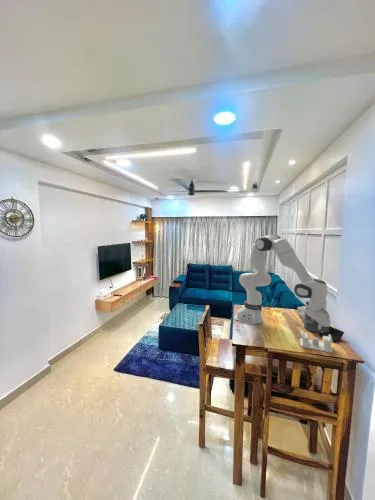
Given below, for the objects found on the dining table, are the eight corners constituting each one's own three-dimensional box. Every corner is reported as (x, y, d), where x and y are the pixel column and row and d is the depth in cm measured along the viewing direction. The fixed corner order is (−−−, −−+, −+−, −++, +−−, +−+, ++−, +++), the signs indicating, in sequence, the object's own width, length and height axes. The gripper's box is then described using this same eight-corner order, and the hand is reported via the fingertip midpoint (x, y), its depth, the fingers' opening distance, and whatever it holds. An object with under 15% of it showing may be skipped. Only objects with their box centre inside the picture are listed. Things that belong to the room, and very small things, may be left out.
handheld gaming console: (319, 337, 151) (318, 333, 151) (328, 329, 155) (327, 325, 154) (335, 344, 142) (334, 340, 141) (345, 336, 145) (344, 331, 144)
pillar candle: (320, 332, 155) (322, 312, 154) (306, 331, 157) (307, 311, 156) (315, 326, 165) (316, 307, 164) (301, 325, 167) (302, 306, 166)
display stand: (300, 346, 136) (301, 335, 135) (299, 339, 145) (300, 328, 144) (332, 353, 129) (333, 341, 128) (329, 345, 138) (330, 333, 137)
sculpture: (295, 312, 195) (295, 301, 194) (319, 314, 189) (320, 303, 189) (300, 323, 172) (301, 311, 171) (328, 326, 166) (328, 314, 165)
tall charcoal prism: (306, 330, 135) (306, 322, 135) (304, 328, 138) (304, 320, 138) (328, 332, 133) (329, 324, 133) (326, 330, 136) (327, 322, 136)
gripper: (334, 312, 124) (332, 335, 125) (313, 300, 144) (312, 320, 145) (323, 311, 124) (321, 335, 125) (304, 300, 144) (303, 320, 145)
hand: (316, 327), depth 135 cm, fingers closed on tall charcoal prism, 3 cm apart
